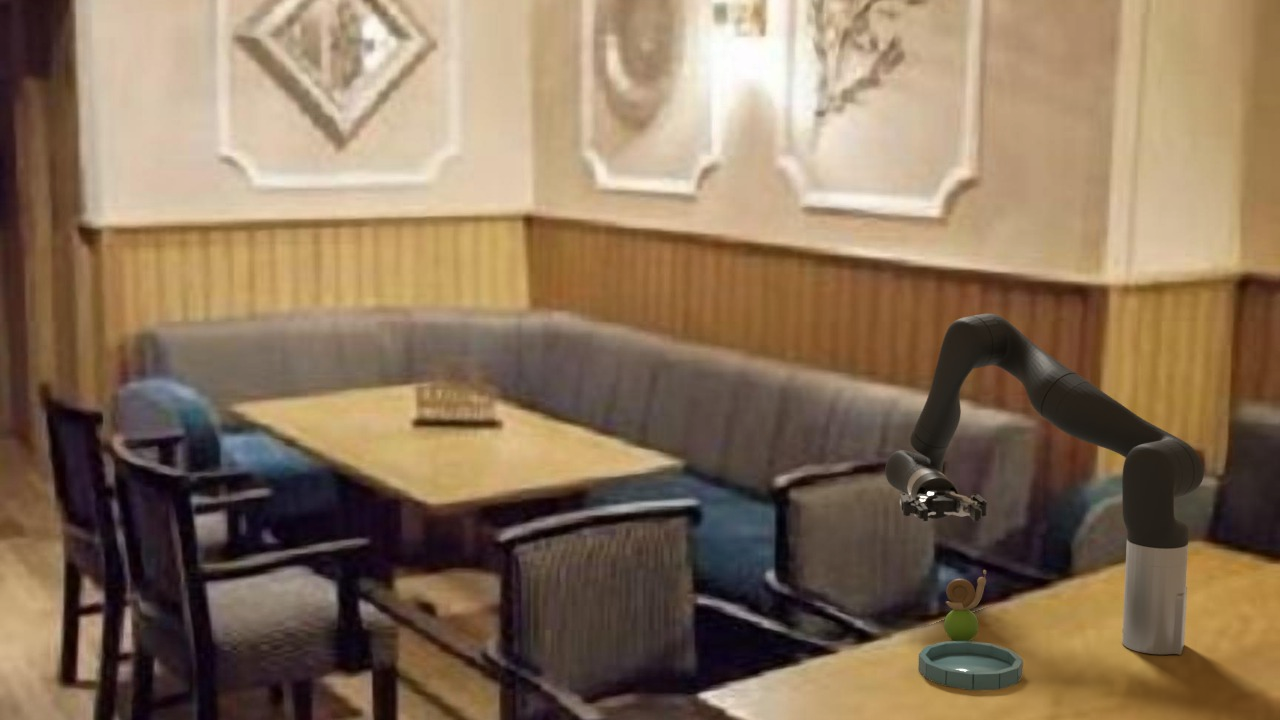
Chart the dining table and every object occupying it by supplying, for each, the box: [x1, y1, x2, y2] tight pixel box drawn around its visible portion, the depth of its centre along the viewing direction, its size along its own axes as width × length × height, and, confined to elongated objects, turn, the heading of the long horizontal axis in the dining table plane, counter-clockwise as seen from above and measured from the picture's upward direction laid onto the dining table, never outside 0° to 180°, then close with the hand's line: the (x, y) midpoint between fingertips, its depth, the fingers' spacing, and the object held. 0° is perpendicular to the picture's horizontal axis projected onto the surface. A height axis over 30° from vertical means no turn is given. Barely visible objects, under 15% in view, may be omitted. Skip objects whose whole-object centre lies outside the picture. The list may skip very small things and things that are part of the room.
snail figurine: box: [943, 569, 987, 641], centre depth 245 cm, size 5×6×12 cm
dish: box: [918, 640, 1024, 691], centre depth 231 cm, size 15×15×2 cm
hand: (951, 515), depth 254 cm, fingers open, 8 cm apart
